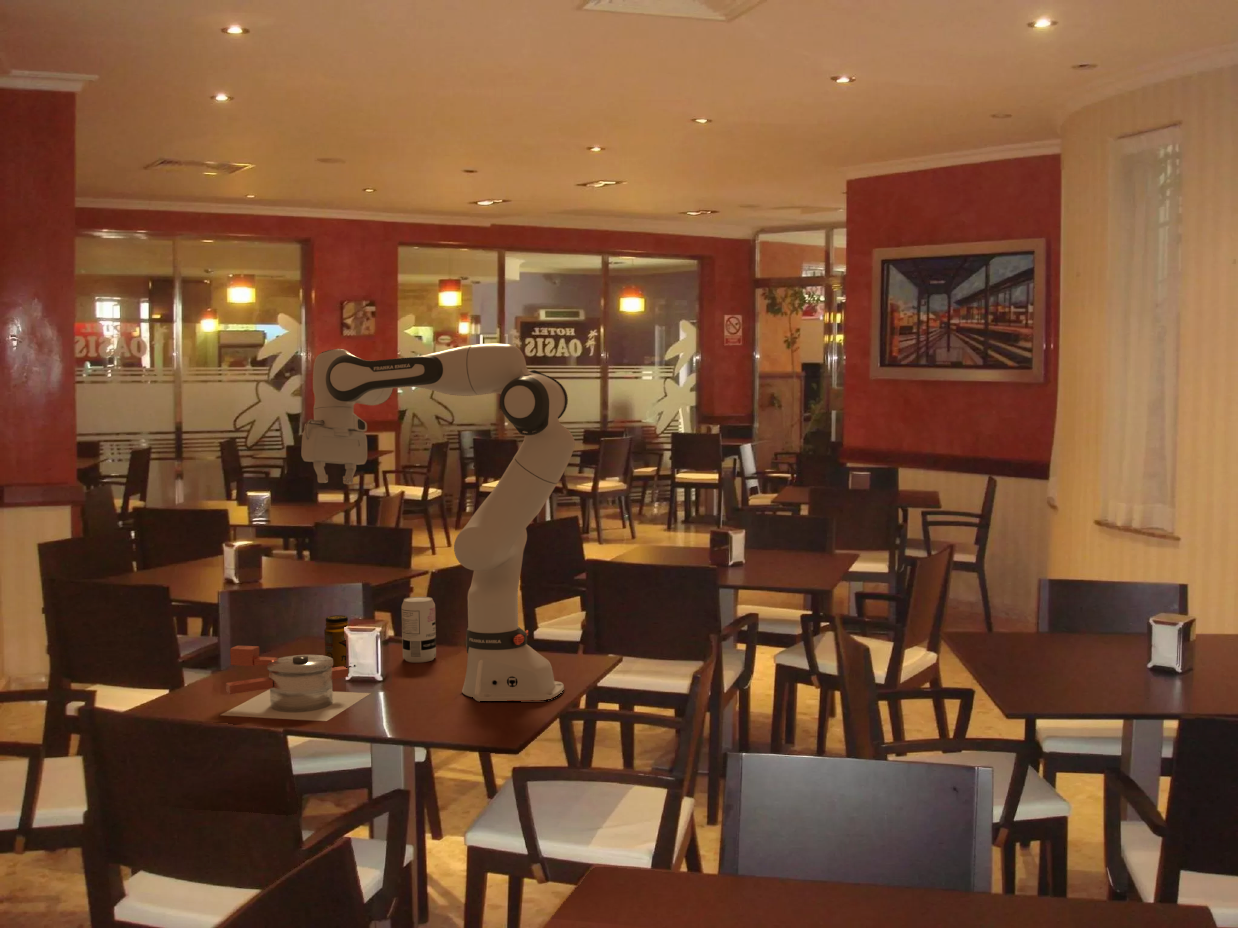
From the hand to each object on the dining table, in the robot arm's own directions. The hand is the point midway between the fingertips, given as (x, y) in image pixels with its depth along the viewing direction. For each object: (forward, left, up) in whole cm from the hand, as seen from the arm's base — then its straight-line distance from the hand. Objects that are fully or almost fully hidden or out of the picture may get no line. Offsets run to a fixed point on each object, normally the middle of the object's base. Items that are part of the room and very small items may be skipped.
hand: (335, 483), depth 287 cm
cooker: (+3, +20, -46) cm, 50 cm away
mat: (+2, +18, -46) cm, 50 cm away
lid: (+5, +18, -38) cm, 42 cm away
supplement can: (-8, -27, -46) cm, 55 cm away
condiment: (+10, -17, -47) cm, 51 cm away
